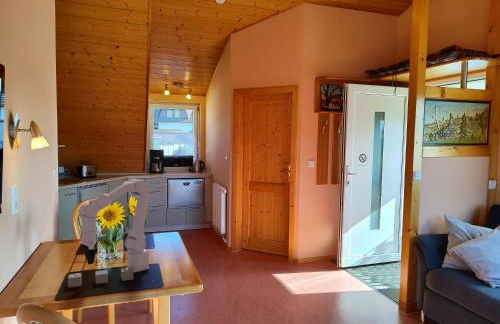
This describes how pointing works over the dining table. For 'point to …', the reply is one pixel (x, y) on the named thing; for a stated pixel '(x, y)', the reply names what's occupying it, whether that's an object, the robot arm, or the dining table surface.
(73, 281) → the dotted block
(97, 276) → the plain block
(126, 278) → the barred block
